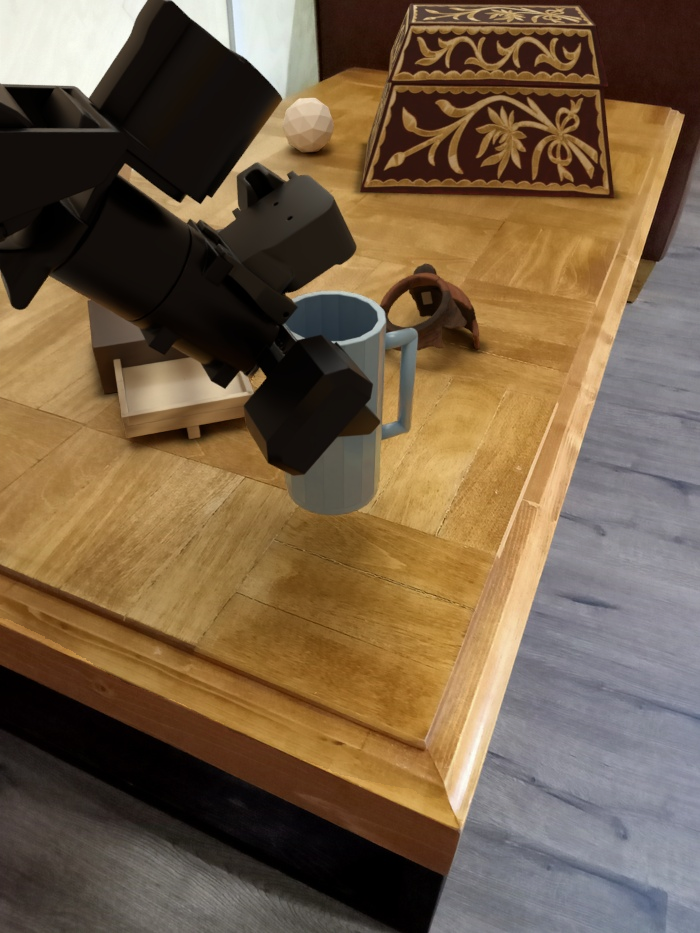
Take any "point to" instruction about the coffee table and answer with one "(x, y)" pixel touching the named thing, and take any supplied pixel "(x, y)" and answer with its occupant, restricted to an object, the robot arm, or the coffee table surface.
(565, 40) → the decorative box
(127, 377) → the walnut box
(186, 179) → the robot arm
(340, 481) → the tall blue mug
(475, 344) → the brown hollow shell
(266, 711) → the coffee table surface
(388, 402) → the coffee table surface
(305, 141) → the geometric ball
